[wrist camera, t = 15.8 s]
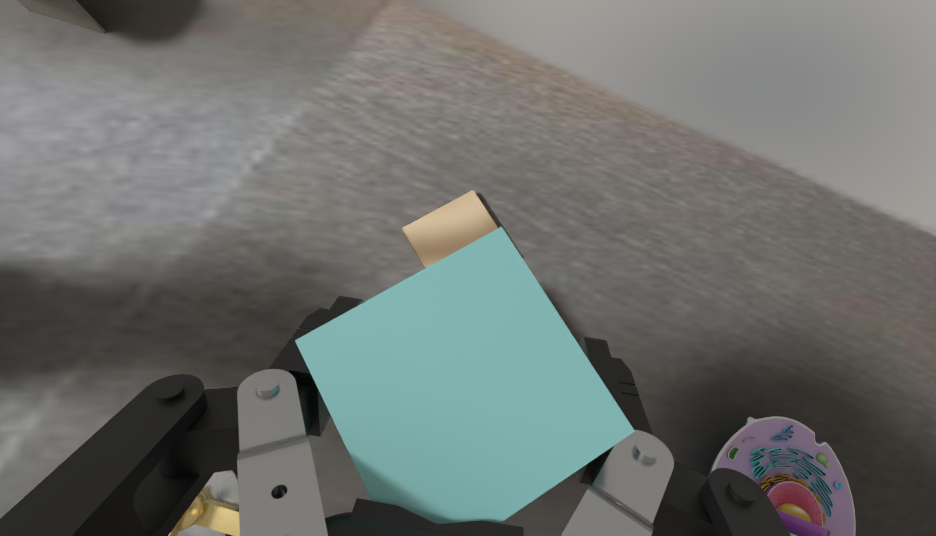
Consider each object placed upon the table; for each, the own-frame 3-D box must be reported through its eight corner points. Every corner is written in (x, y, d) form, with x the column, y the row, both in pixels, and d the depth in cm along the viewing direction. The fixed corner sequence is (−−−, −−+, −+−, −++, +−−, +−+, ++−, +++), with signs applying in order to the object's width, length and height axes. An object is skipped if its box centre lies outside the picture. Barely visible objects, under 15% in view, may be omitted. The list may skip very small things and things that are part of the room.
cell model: (822, 441, 33) (962, 459, 24) (797, 616, 30) (947, 715, 21) (694, 392, 34) (781, 391, 25) (656, 556, 31) (740, 626, 21)
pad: (403, 230, 37) (402, 228, 37) (472, 192, 38) (473, 189, 38) (443, 299, 36) (443, 297, 35) (515, 258, 37) (516, 255, 36)
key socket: (145, 486, 31) (141, 488, 31) (223, 441, 32) (220, 441, 32) (174, 568, 30) (170, 571, 30) (255, 518, 31) (253, 520, 31)
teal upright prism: (375, 366, 18) (294, 340, 9) (481, 304, 18) (501, 226, 10) (435, 482, 16) (411, 583, 8) (545, 411, 17) (634, 431, 9)
